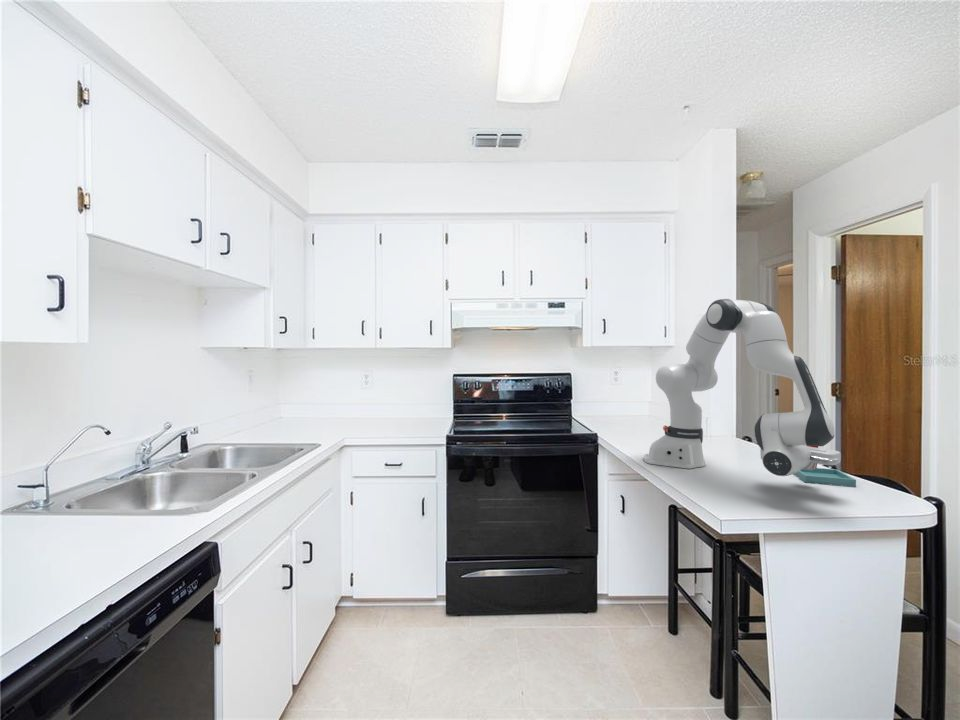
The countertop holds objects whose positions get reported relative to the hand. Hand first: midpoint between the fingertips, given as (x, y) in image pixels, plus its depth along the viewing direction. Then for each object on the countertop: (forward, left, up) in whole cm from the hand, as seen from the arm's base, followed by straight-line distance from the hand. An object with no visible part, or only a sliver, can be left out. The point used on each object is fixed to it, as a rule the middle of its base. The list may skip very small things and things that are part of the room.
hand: (805, 448), depth 142 cm
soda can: (-1, -1, -7) cm, 7 cm away
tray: (+9, +11, -12) cm, 19 cm away
